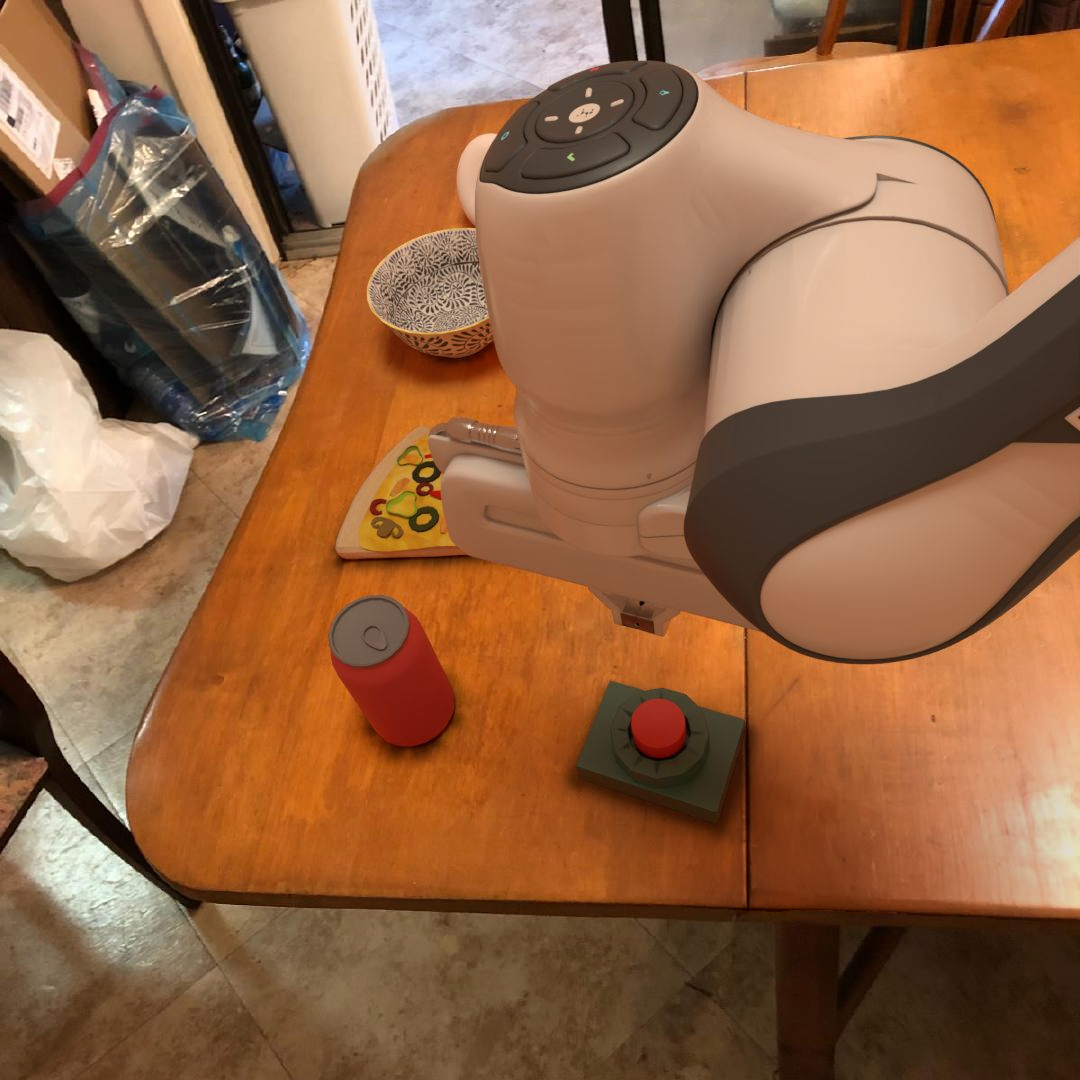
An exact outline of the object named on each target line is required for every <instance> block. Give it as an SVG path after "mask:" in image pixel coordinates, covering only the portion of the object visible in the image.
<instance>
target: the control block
mask: <svg viewBox="0 0 1080 1080" xmlns="http://www.w3.org/2000/svg"><path fill="white" fill-rule="evenodd" d="M651 699H665V700H668V701H671V702H673V703H674V704H676V705H677V706H678V707H679V708H680V709H681V711H682V712H683V714H684V717H685V723H686V740H685V743H684V745H683V746H682V748H681V749H680V750H679V751H678V752H677V753H676V754H674V755H672V756H670V757H667V758H652V757H649V756H647V755H645V754H644V753H642V752H641V751H640V750H639V749H638V748H637V746H636V744H635V742H634V739H633V733H632V728H631V719H632V716H633V713H634V712H635V710H636V709H637V708H638V707H639V706H640V705H641V704H642V703H644V702H646V701H648V700H651ZM587 734H588V735H587V737H586V739H585V741H584V744H583V747H582V749H581V752H580V754H579V757H578V760H577V761H576V764H575V768H576V772H577V774H578V778H579V779H581V780H584V781H587V782H589V783H591V784H595V785H599V786H600V787H604V788H607V789H610V790H613V791H616V792H620V793H622V794H626V795H628V796H631V797H635V798H638V799H640V800H643V801H646V802H649V803H653V804H655V805H658V806H662V807H664V808H667V809H671V810H672V811H673V810H674V811H676V812H679V813H682V814H685V815H688V816H691V817H694V818H697V819H700V820H703V821H706V822H709V823H713V824H716V825H717V824H718V822H719V819H720V817H721V816H720V815H721V812H722V810H723V805H724V804H725V803H724V802H725V800H726V796H727V793H728V790H729V786H730V783H731V779H732V776H733V774H734V770H735V767H736V764H737V760H738V757H739V754H740V750H741V747H742V744H743V741H744V738H745V734H746V719H744V718H741V717H737V716H734V715H731V714H726V713H725V712H720V711H716V710H713V709H710V708H706V707H703V706H699V705H698V704H697V703H696V702H695V701H694V700H693V699H692V698H691V697H690V696H688V695H687V693H683V692H679V691H675V690H672V689H670V688H665V687H657V688H652V689H646V690H645V689H641V688H637V687H635V686H631V685H627V684H624V683H620V682H617V681H614V680H609V682H608V685H607V687H606V690H605V692H604V695H603V697H602V700H601V702H600V705H599V707H598V709H597V712H596V714H595V717H594V719H593V722H592V724H591V727H590V729H589V731H588V733H587Z"/></svg>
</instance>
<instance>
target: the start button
mask: <svg viewBox="0 0 1080 1080" xmlns="http://www.w3.org/2000/svg"><path fill="white" fill-rule="evenodd" d="M631 728H632V733H633V739H634V742H635V744H636V746H637V748H638V749H639V750H640V751H641V752H642V753H644V754H645V755H647V756H649V757H652V758H667V757H670V756H672V755H674V754H676V753H677V752H678V751H679V750H680V749H681V748H682V746H683V745H684V743H685V740H686V723H685V717H684V714H683V712H682V711H681V709H680V708H679V707H678V706H677V705H676V704H674V703H673V702H671V701H668V700H665V699H651V700H648V701H646V702H644V703H642V704H641V705H640V706H639V707H638V708H637V709H636V710H635V712H634V713H633V716H632V719H631Z"/></svg>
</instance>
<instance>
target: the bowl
mask: <svg viewBox="0 0 1080 1080" xmlns="http://www.w3.org/2000/svg"><path fill="white" fill-rule="evenodd" d="M366 300H367V305H368V307H369V309H370V311H371V313H372V314H373V315H374V316H375V317H376V318H377V319H378V320H379V321H380V322H381V323H383V324H384V325H386V326H387V327H388V328H389V329H390V330H391V331H392V332H393V334H395V335H396V336H397V338H399V339H400V340H401V341H402V342H403V343H405V344H406V345H408V346H409V347H410V348H412V349H414V350H416V351H419V352H421V353H424V354H427V355H431V356H437V357H444V358H453V359H457V358H463V357H464V358H465V357H468V356H471V355H474V354H476V353H478V352H480V351H481V350H483V349H484V348H485V347H486V346H488V345H489V344H490V343H492V342H494V339H493V335H492V330H491V325H490V320H489V315H488V310H487V305H486V301H485V295H484V289H483V283H482V278H481V272H480V264H479V257H478V250H477V240H476V227H454V228H446V229H440V230H436V231H431V232H428V233H426V234H422V235H420V236H417V237H415V238H413V239H410V240H408V241H406V242H404V243H403V244H401V245H400V246H398V247H396V248H395V249H394V250H392V251H391V252H389V253H388V254H387V255H386V256H385V257H384V258H383V259H382V260H380V262H379V263H378V264H377V266H376V267H375V268H374V270H373V271H372V273H371V275H370V276H369V279H368V282H367V286H366Z"/></svg>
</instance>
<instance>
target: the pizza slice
mask: <svg viewBox="0 0 1080 1080" xmlns="http://www.w3.org/2000/svg"><path fill="white" fill-rule="evenodd" d="M431 429H432V428H430V427H429V426H426V425H420V426H418V427H415V428H414V429H413V430H412V431H410V432H409V433H407V435H406V436H404V437H403V438H402V439H401V440H400V441H399V442H398V443H396V444H395V446H393V448H392V449H390V451H388V452H387V454H385V455H384V457H382V459H381V460H380V461H379V463H377V465H376V466H375V467H374V468H373V469H372V471H371V472H370V474H368V476H367V478H366V479H365V480H364V481H363V483H362V484H361V486H360V487H359V489H358V491H357V493H356V494H355V496H354V497H353V499H352V502H351V504H350V505H349V509H348V511H347V514H346V515H345V518H344V520H343V522H342V524H341V526H340V529H339V532H338V535H337V538H336V541H335V552H336V554H337V555H338V556H339V557H340V558H342V559H345V560H359V559H388V558H389V559H390V558H393V559H394V558H422V557H424V558H425V557H427V558H429V557H447V556H468V555H467V554H466V553H464V552H463V551H462V550H461V549H460V548H458V547H457V546H456V545H455V544H454V543H453V542H452V541H451V539H450V536H449V533H448V530H447V526H446V522H445V517H444V512H443V507H442V499H441V479H442V476H443V474H442V473H441V472H440V470H439V469H438V468H437V466H436V465H435V463H434V460H433V457H432V455H431V452H430V449H429V446H428V438H429V433H430V431H431Z"/></svg>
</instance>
